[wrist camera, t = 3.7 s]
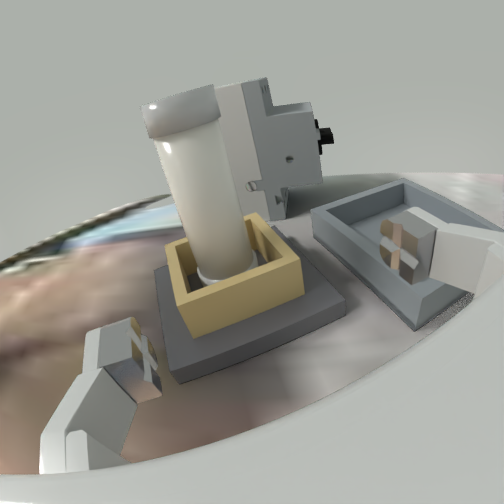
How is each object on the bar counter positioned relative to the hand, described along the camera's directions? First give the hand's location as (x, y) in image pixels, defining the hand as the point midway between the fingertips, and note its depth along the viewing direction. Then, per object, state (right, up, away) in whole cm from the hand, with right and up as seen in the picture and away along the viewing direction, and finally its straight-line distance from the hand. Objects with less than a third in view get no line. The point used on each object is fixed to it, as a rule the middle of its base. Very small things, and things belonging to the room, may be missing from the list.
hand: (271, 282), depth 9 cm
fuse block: (-2, -3, +15) cm, 15 cm away
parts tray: (+13, +1, +15) cm, 20 cm away
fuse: (-2, -1, +14) cm, 14 cm away
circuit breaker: (+3, +6, +27) cm, 28 cm away
